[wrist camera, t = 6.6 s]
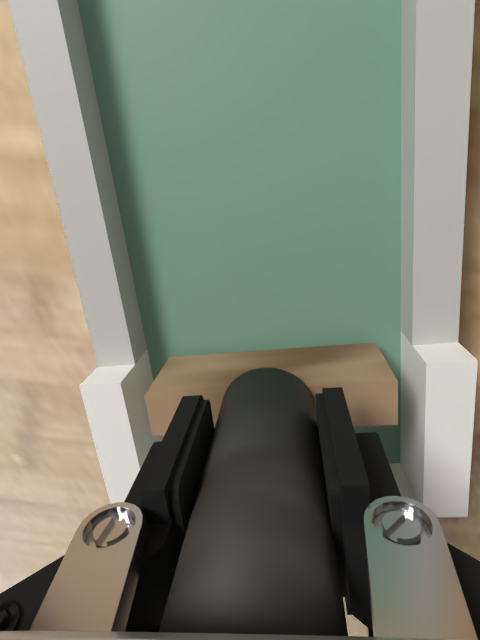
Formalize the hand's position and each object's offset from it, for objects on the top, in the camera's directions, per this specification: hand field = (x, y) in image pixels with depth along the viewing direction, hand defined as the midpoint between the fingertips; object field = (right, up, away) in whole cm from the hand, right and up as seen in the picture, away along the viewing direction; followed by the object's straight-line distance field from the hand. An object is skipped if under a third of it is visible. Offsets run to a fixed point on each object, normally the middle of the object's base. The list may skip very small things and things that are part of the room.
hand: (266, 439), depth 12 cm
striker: (0, +2, +5) cm, 5 cm away
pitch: (0, +7, +4) cm, 8 cm away
